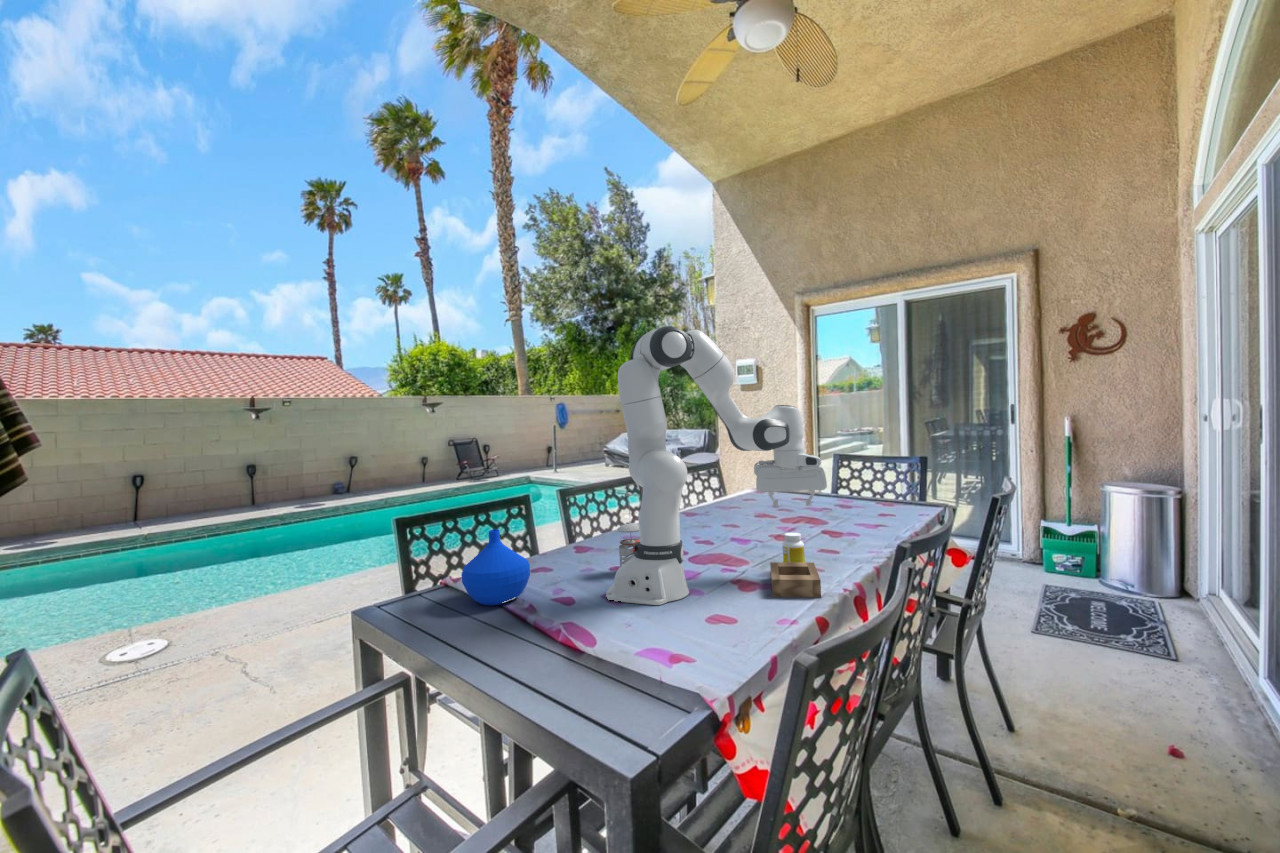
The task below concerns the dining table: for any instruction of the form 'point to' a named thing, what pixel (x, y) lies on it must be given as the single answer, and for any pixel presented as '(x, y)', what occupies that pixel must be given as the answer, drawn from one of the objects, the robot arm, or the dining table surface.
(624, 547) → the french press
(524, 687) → the dining table surface
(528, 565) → the vase
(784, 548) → the pill bottle
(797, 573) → the box
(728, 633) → the dining table surface
